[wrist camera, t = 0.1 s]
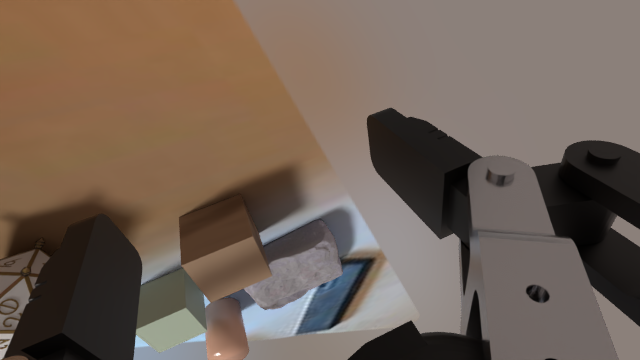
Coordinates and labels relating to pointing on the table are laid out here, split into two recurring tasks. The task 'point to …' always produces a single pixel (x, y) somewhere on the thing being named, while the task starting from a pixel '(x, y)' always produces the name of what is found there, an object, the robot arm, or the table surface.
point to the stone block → (297, 265)
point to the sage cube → (170, 311)
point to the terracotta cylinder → (225, 331)
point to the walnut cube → (222, 248)
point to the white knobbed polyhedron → (17, 289)
